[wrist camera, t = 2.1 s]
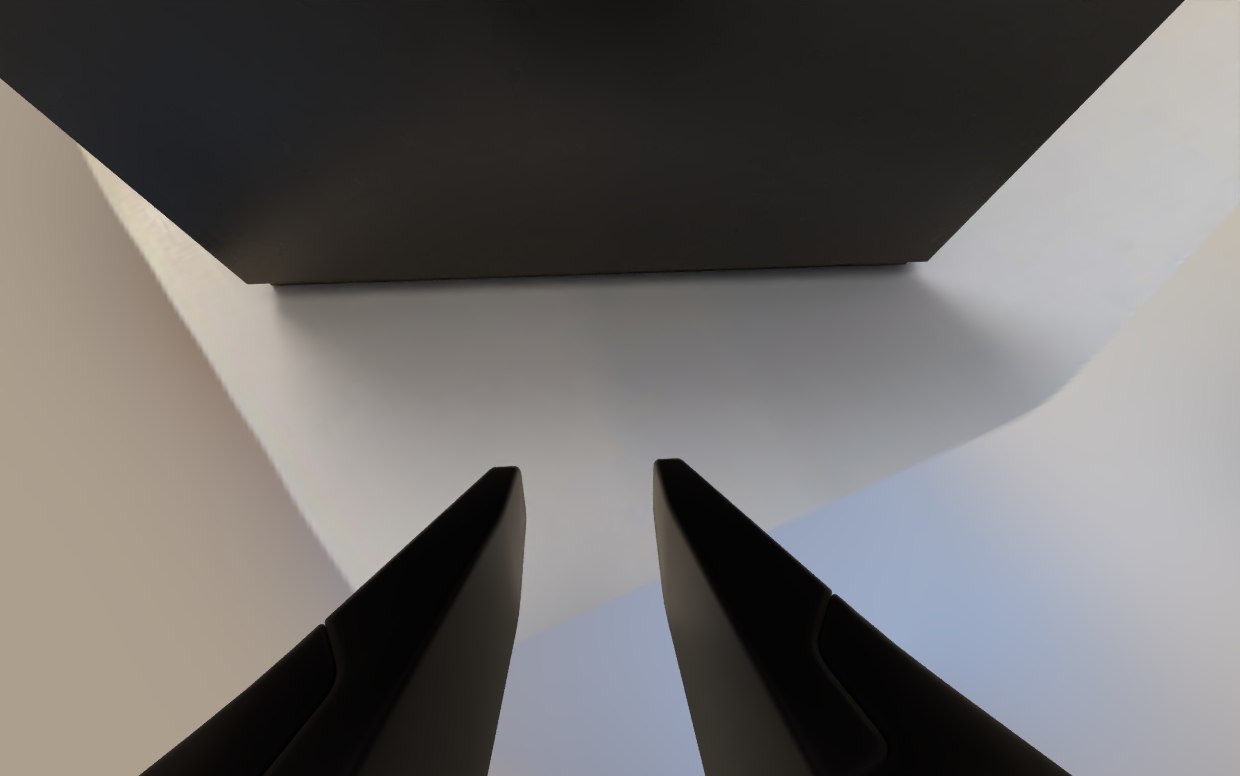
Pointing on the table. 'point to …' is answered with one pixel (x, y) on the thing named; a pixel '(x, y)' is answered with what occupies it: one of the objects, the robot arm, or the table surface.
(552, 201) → the laptop screen
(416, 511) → the table surface
